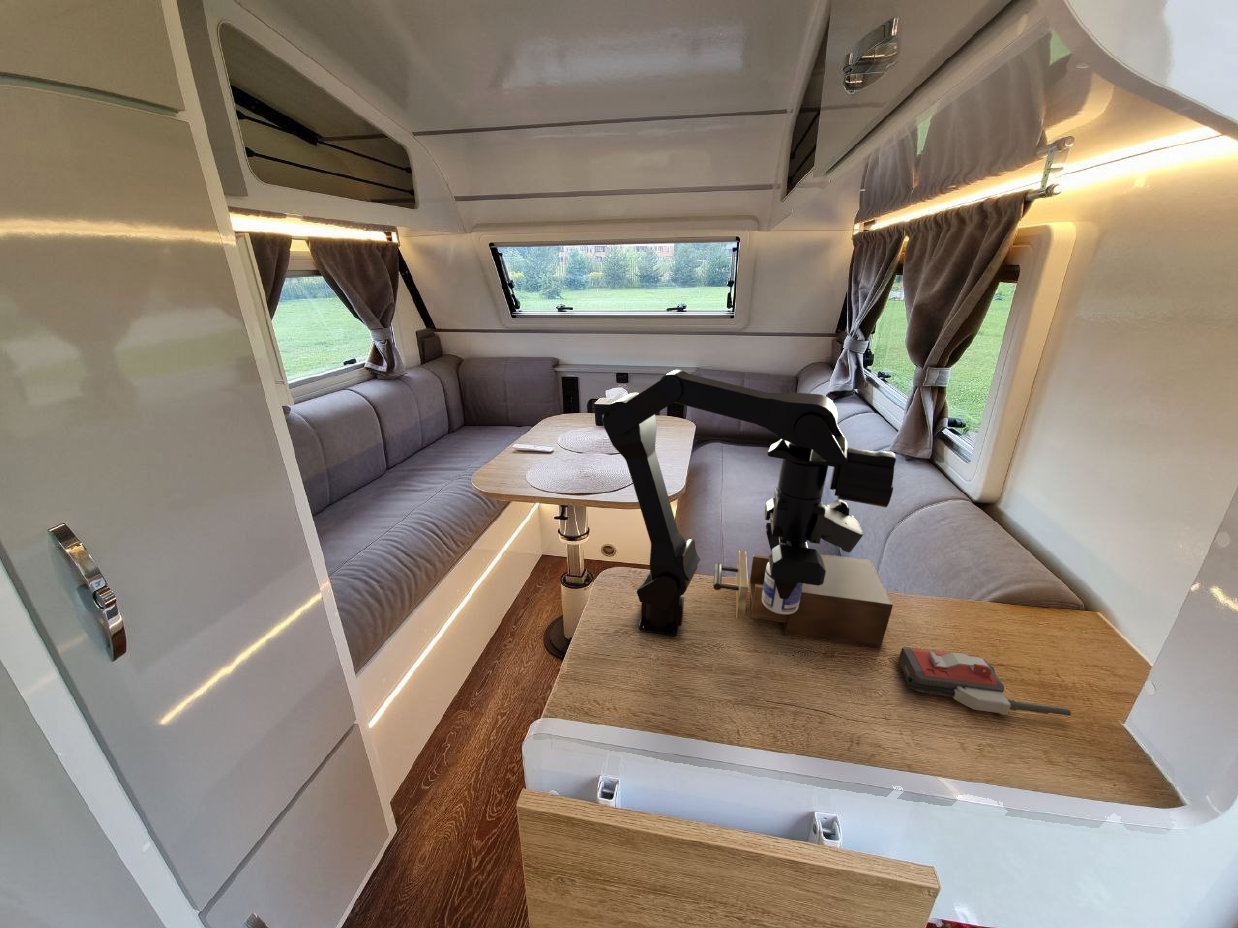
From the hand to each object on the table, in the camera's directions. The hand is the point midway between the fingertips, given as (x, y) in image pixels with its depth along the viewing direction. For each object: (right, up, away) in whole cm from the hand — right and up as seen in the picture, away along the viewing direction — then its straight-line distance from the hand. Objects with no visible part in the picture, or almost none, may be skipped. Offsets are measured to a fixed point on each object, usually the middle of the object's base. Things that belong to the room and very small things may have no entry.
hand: (782, 586), depth 69 cm
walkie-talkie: (+27, -15, -1) cm, 31 cm away
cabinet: (+12, -9, +14) cm, 20 cm away
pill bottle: (0, -3, +1) cm, 3 cm away
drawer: (+2, -7, +15) cm, 17 cm away
